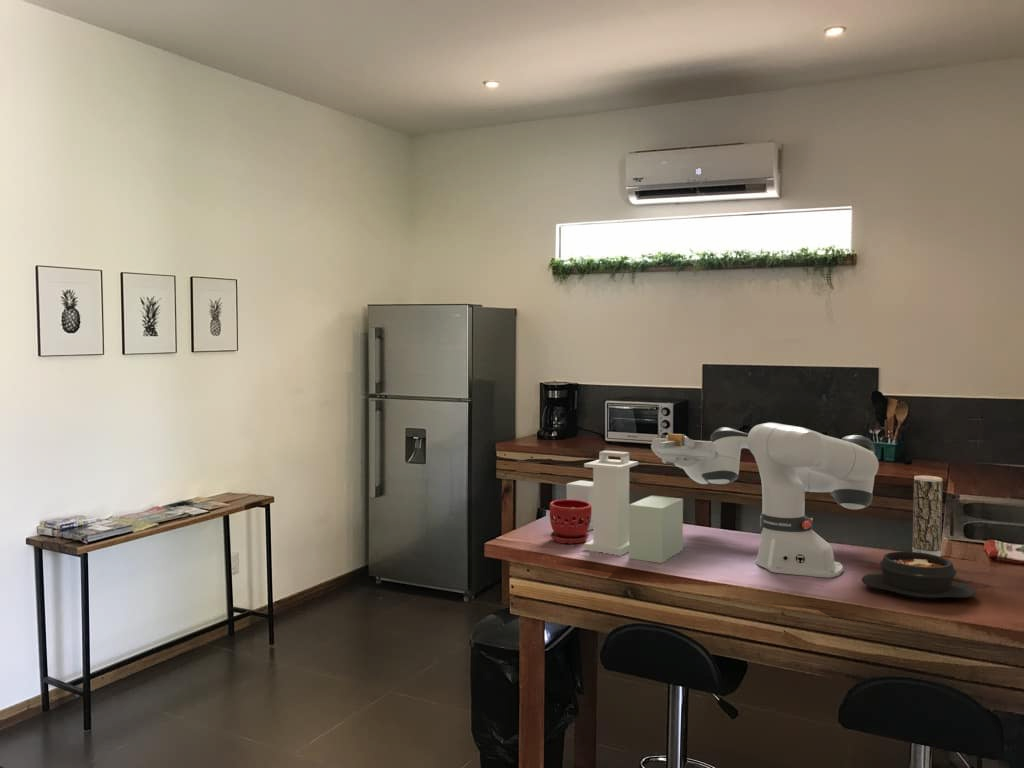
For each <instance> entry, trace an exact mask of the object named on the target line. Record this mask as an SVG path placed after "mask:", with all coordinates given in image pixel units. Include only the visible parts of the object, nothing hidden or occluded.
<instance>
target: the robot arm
mask: <svg viewBox="0 0 1024 768" xmlns="http://www.w3.org/2000/svg"><path fill="white" fill-rule="evenodd" d="M667 441H668V435H666V436H665V438H658V437H654V438H653V439H652V442H651V445H650V448H651V450H652V452H653V453H654V454H655V455H656V456H657V457H658V458H659V459H661V462H662V463H663V464H666V465H670V466H675V467H678V468H679V469H683V471H684V472H685V474H686V475H687V476H688V477H689V479H691V480H693V481H694V482H696V483H697V484H700V485H707V484H710V485H712V486H713V485H714V486H727V485H730V484H731V483H733V482H735V481H737V480H738V478H739V472H740V464H741V463H740V461H741V452H742V449H748V450H749V452H751V454H752V455H753V457H754V459H755V462H756V465H757V469H758V472H759V476H760V480H761V490H762V491H761V493H762V495H761V496H762V500H761V501H762V503H761V505H762V512H761V513H760V518H759V528H760V535H761V536H760V542H759V548H758V553H757V557H756V559H755V564H756V565H758V566H759V567H762V568H764V569H766V570H768V571H769V572H771V573H775V574H776V573H777V574H787V575H796V576H807V577H815V578H817V577H818V578H828V579H829V578H834V577H837V576H840V575H841V574H842V573H843V571H844V567H843V564H842V563H841V562H839V561H835V555H834V551H833V548H832V546H831V544H830V543H829V542H827V541H826V540H825V539H824V538H822V537H821V536H820V535H819V534H817V533H816V532H815V531H814V530H812V528H813V520H814V519H813V517H809V516H807V515H806V514H805V507H806V506H805V503H806V502H805V501H806V500H805V498H806V495H805V493H806V492H810V493H829V495H830V496H832V497H833V500H834V501H835V502H836V503H837V504H838V505H839V506H841V507H844V508H845V509H848V510H861V509H866V508H868V507H869V506H870V505H871V504H872V501H873V497H874V494H873V490H874V484H875V476H876V475H877V474H878V470H879V460H878V458H877V455H875V454H876V449H875V444H874V442H873V441H872V440H871V439H870V438H869V437H867V436H863V435H860V434H859V435H858V434H852V435H845V436H843V437H842V438H841V439H840V438H837V437H833V436H829V435H825V434H823V433H821V432H818V431H815V430H812V429H809V428H806V427H802V426H796V425H790V424H789V425H788V424H783V423H778V422H765V423H760V424H756V425H755V426H753V427H752V428H751V429H750V430H749V432H748V433H747V432H743V431H742V430H741V431H740V430H739V429H735V428H731V427H727V426H724V427H723V426H722V427H719V428H717V429H716V430H714V431H713V433H711V434H710V440H696V439H695V440H694V439H692V438H689V437H688V436H685V437H683V439H682V442H683V443H684V444H685V446H682V447H669V448H659V443H660V442H667Z"/></svg>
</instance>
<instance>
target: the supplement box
mask: <svg viewBox="0 0 1024 768" xmlns="http://www.w3.org/2000/svg"><path fill="white" fill-rule="evenodd" d="M565 485H566V500H580V501H585V502H588V503H590V504H591V506H592V511H591V520H590V525H589V528H588V530H587V532H589V531H591V530H593V481H589V480H582V479H581V480H576V481H572V482H568V483H566V484H565ZM572 508H575V507H572ZM582 520H583V518H582Z"/></svg>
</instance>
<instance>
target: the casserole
mask: <svg viewBox="0 0 1024 768" xmlns="http://www.w3.org/2000/svg"><path fill="white" fill-rule="evenodd" d="M879 567H880V568H881V570H882V573H867V574H865V575H863V576H862V577H861V582H862V583H863V584H864V585H866V586H868V587H870V588H873V589H874V588H875V589H879V590H884V591H889V592H892V593H894V594H897V595H899V596H903V597H905V598H911V599H916V600H917V599H918V600H938V599H942V598H956V599H957V598H958V599H961V598H967V599H968V598H970V597H973V596H975V595H976V593H977V592H976V590H975V589H974V588H973V587H972V586H970V585H969V584H967V583H964V582H959V581H954V580H953V579H954V578H955V577H954V576H956V575H957V573H958V572H957V570H956V569H955V568H954V564H953V562H952V561H951V560H949V559H947V558H945V557H942V556H941V557H939V556H935V555H931V554H925V553H918V552H913V551H893V552H889V553H888V552H887V553H886V554H884V555H883V558H882V560H881V561H880V562H879Z"/></svg>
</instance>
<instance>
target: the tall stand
mask: <svg viewBox="0 0 1024 768" xmlns="http://www.w3.org/2000/svg"><path fill="white" fill-rule="evenodd" d="M598 454H599V456H598V459H596V460H593V461H590V462H585V463H583V468H592V475H593V476H592V477H593V478H592V480H593V481H592V482H593V529H592V530H593V531H592V533H593V535H592V539H591V540H589V541H587V542H585V543H583V545H584V547H583V549H584V551H586V550H591V551H590V552H593V551H597V552H596V553H599V552H603V553H602V554H606V553H610V554H609V555H612V554H614V556H619V557H620V556H624V555H626V554H627V553H629V504H630V468H632V467H635V466H639V461H636V460H635V461H634V460H630V452H629V451H618V450H617V451H616V450H607V449H605V450H602V451H599V453H598ZM609 457H615V458H620V459H611V458H609Z"/></svg>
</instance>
